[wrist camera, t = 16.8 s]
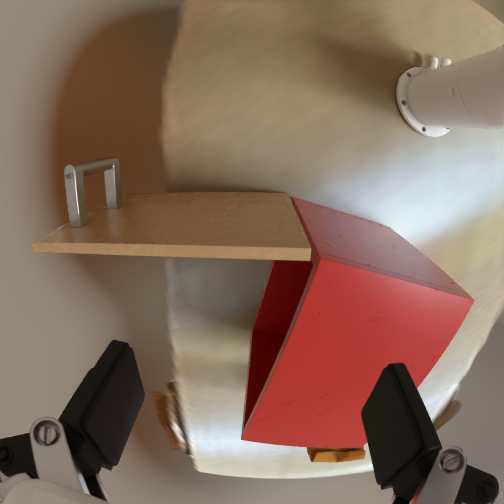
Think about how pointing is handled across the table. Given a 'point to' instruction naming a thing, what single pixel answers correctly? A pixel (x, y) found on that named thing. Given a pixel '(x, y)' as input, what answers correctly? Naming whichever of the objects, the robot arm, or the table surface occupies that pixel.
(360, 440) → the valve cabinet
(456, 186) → the table surface
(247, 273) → the table surface
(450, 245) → the table surface
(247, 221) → the door
